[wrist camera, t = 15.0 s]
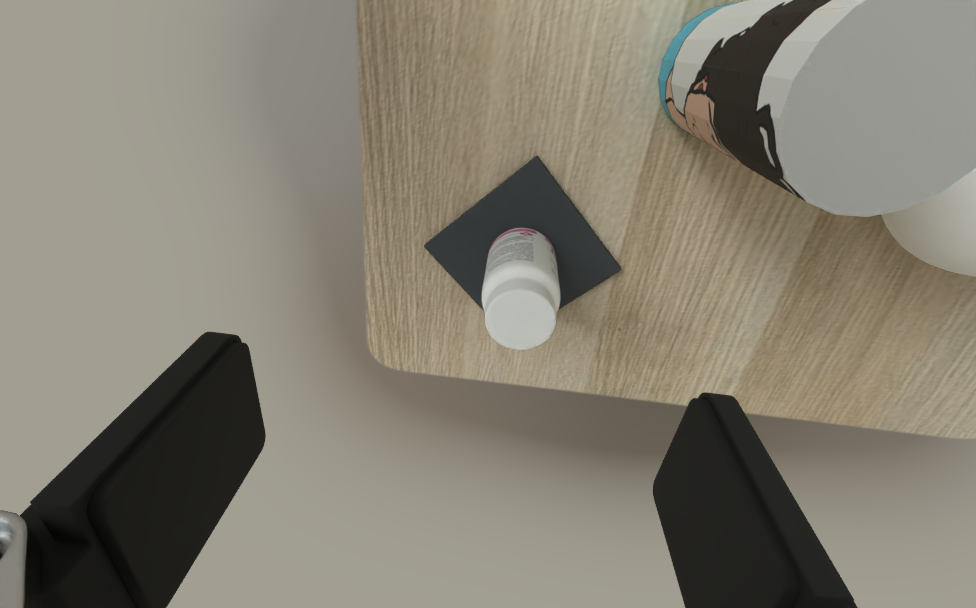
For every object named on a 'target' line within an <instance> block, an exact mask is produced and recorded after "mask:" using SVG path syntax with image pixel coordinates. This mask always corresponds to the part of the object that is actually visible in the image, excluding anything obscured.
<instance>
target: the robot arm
mask: <svg viewBox="0 0 976 608" xmlns="http://www.w3.org/2000/svg"><path fill="white" fill-rule="evenodd" d="M264 442H265V428H264V423H263V418H262V413H261V408H260V403H259V398H258V393H257V388H256V382H255V377H254V372H253V367H252V362H251V356H250V351H249V347H248V345H247V344H246V343H242V342H241V339H240V338H239V336H237V335H232V334H224V333H216V332H206V333H204V334H203V335H201V336H200V337H199V338H198V339H197V340H196V341H195V342H194V343H193V344H192V345H191V346H190V347H189V348H188V349H187V350H186V351H185V352H184V353H183V354H182V355H181V356H180V357H179V358H178V359H177V360H176V361H175V362H174V363H173V364H172V365H171V366H170V367H169V368H167V370H165V371H164V372H163V373H162V374H161V375H160V376H159V377H158V378H157V379H156V380H155V381H154V382H153V383H152V384H151V385H150V386H149V387H148V388H147V389H146V390H145V391H144V392H143V393H142V394H141V395H140V396H139V397H138V398H137V399H136V400H135V401H133V402H132V403H131V404H130V405H129V407H127V408H126V409H125V410H124V411H123V412H122V413H121V414H120V415H119V416H118V417H117V418H116V419H115V420H114V421H113V422H112V423H111V424H110V425H109V426H108V427H107V428H106V429H105V430H104V431H103V432H102V433H101V434H99V436H98V437H96V438H95V439H94V440H93V441H92V442H91V443H90V444H89V445H88V446H87V447H86V448H85V449H84V450H83V451H82V452H81V453H80V454H79V455H78V456H77V457H76V458H75V459H74V460H73V461H72V462H71V463H70V464H69V465H68V466H67V467H66V468H65V469H63V471H62V472H60V473H59V474H58V475H57V476H56V477H55V478H54V479H53V480H52V481H51V482H50V483H49V484H48V485H47V486H46V487H45V488H44V489H43V490H42V491H41V492H40V493H39V494H38V495H37V496H36V497H35V498H34V499H33V500H32V501H31V502H30V503H31V505H30V506H29V507H28V508H27V509H26V510H25V511H24V512H23V513H22V514H21V515H20V516H19V515H17V514H16V513H12V512H8V511H3V510H2V511H0V608H166V607H167V605H168V604H169V602H170V600H171V599H172V598H173V596H174V594H175V593H176V591H177V589H178V588H179V586H180V584H181V583H182V581H183V579H184V578H185V576H186V574H187V573H188V571H189V570H190V568H191V566H192V565H193V563H194V561H195V559H196V558H197V556H198V555H199V553H200V551H201V549H202V548H203V546H204V545H205V543H206V541H207V540H208V538H209V537H210V535H211V533H212V531H213V530H214V528H215V526H216V525H217V523H218V522H219V520H220V518H221V517H222V515H223V514H224V512H225V510H226V509H227V507H228V505H229V504H230V502H231V500H232V498H233V497H234V495H235V494H236V492H237V490H238V489H239V487H240V485H241V484H242V482H243V480H244V479H245V477H246V475H247V474H248V472H249V471H250V469H251V467H252V466H253V464H254V462H255V461H256V459H257V458H258V456H259V454H260V453H261V451H262V449H263V446H264ZM653 496H654V500H655V504H656V507H657V511H658V514H659V518H660V521H661V525H662V528H663V531H664V535H665V538H666V542H667V545H668V549H669V552H670V556H671V559H672V562H673V566H674V570H675V573H676V576H677V580H678V583H679V587H680V590H681V594H682V597H683V601H684V604H685V607H686V608H857V606H856V604H855V603H854V599H853V597H852V595H851V594H850V592H849V591H848V589H847V587H846V585H845V584H844V582H843V580H842V578H841V577H840V575H839V573H838V572H837V570H836V568H835V567H834V565H833V563H832V561H831V560H830V559H829V556H828V555H827V553H826V551H825V550H824V548H823V546H822V545H821V543H820V541H819V539H818V538H817V536H816V534H815V533H814V531H813V529H812V527H811V526H810V524H809V523H808V521H807V519H806V517H805V516H804V514H803V512H802V511H801V509H800V507H799V505H798V504H797V502H796V500H795V499H794V497H793V495H792V493H791V492H790V490H789V488H788V487H787V485H786V483H785V481H784V480H783V478H782V476H781V475H780V473H779V471H778V470H777V468H776V466H775V464H774V463H773V461H772V459H771V458H770V456H769V454H768V453H767V451H766V449H765V447H764V446H763V444H762V442H761V441H760V439H759V437H758V436H757V434H756V432H755V430H754V429H753V427H752V425H751V424H750V422H749V420H748V418H747V417H746V415H745V413H744V412H743V410H742V408H741V407H740V405H739V403H738V401H737V400H736V399H735V398H734V397H733V396H730V395H721V394H713V393H702V394H701V395H700V396H699V397H698V399H697V398H693V399H692V400H691V401H690V403H689V405H688V407H687V409H686V411H685V414H684V416H683V418H682V420H681V422H680V425H679V427H678V429H677V431H676V434H675V436H674V438H673V440H672V443H671V445H670V447H669V449H668V451H667V454H666V456H665V458H664V460H663V463H662V465H661V467H660V469H659V471H658V474H657V476H656V478H655V480H654V484H653Z"/></svg>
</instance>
